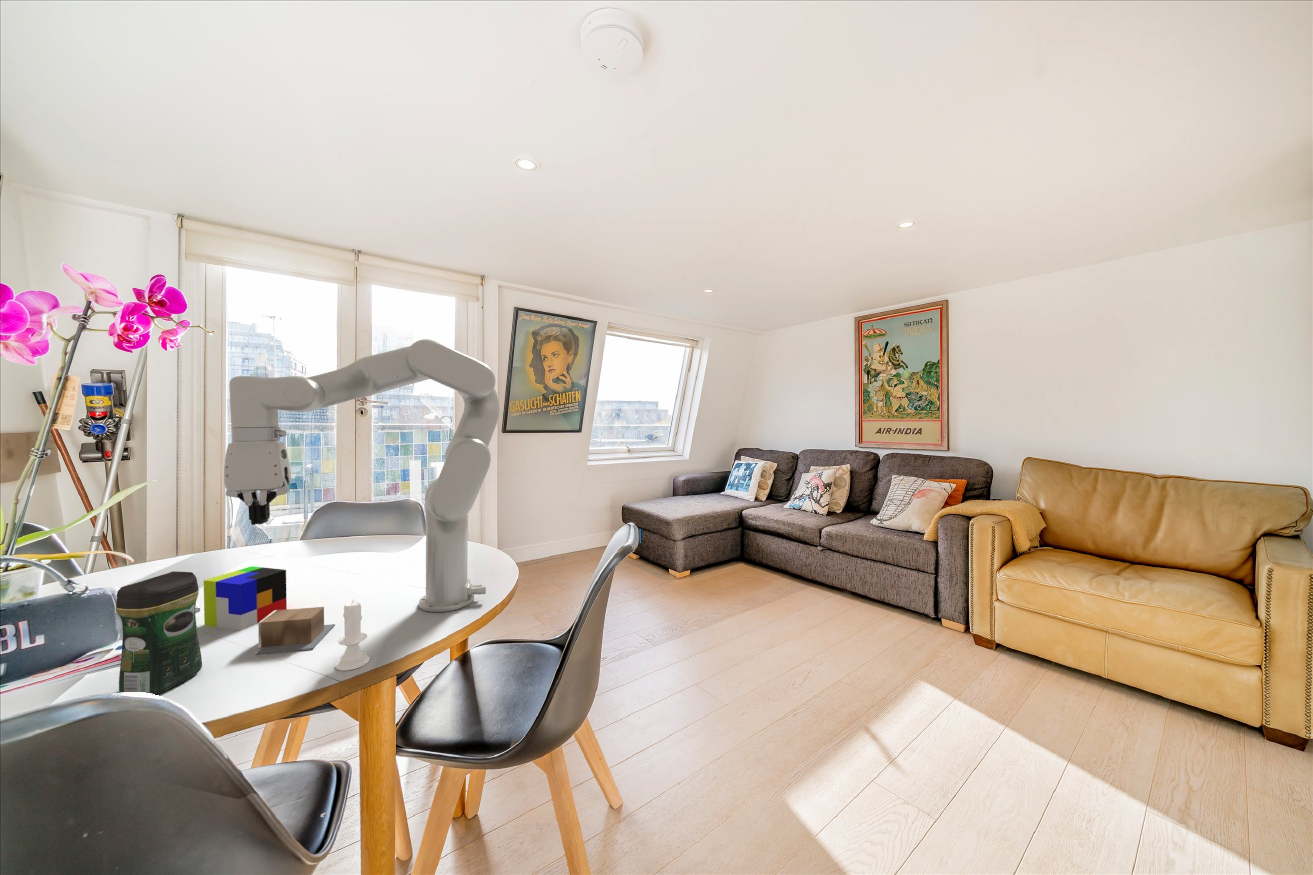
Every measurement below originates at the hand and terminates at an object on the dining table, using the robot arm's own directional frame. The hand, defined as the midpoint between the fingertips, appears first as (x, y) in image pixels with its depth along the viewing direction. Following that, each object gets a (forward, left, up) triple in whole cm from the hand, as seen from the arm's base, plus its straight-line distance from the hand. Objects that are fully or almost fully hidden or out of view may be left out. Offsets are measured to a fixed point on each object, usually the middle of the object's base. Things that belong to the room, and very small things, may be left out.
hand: (259, 522), depth 98 cm
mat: (-9, +5, -24) cm, 26 cm away
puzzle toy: (+7, -9, -24) cm, 26 cm away
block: (-3, +5, -21) cm, 22 cm away
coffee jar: (+6, +18, -24) cm, 30 cm away
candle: (-23, +18, -24) cm, 38 cm away
